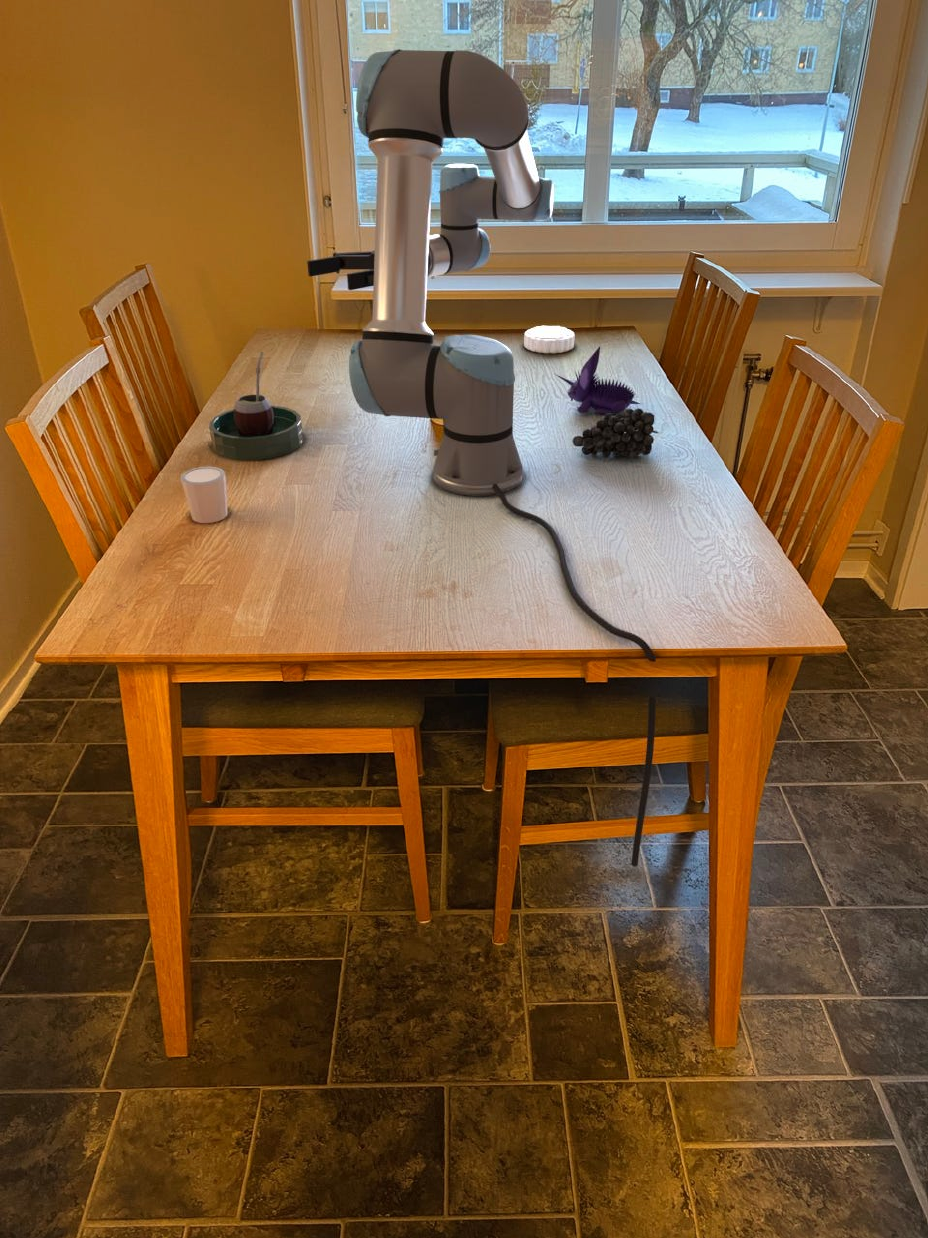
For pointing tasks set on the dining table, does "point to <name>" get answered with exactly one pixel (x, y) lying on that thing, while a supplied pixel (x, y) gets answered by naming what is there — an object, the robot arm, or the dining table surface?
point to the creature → (598, 391)
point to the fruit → (619, 435)
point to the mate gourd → (254, 412)
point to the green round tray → (258, 447)
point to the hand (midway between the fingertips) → (328, 275)
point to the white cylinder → (205, 493)
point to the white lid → (549, 339)
